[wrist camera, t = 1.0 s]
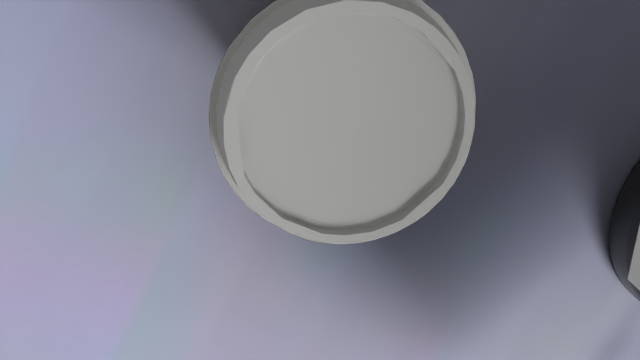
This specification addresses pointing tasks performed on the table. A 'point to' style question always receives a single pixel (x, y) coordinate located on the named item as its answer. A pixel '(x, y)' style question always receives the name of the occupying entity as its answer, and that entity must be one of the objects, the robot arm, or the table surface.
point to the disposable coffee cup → (343, 116)
